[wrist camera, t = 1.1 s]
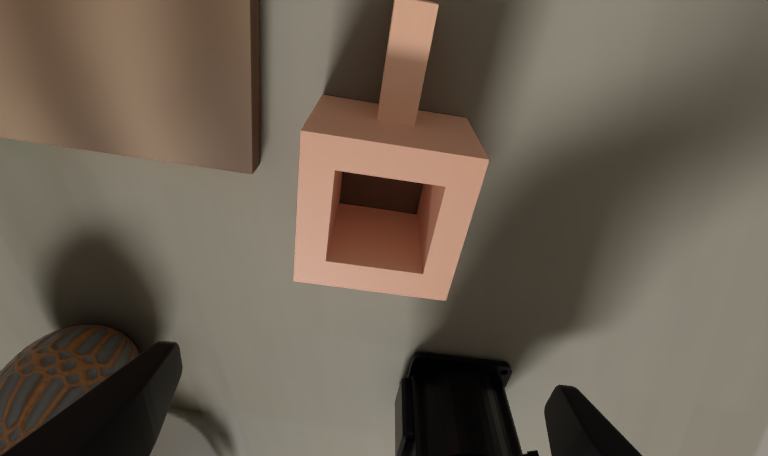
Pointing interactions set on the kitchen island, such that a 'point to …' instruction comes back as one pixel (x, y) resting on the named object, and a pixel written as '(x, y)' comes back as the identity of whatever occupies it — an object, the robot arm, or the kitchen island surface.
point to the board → (134, 78)
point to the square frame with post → (388, 160)
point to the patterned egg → (56, 376)
